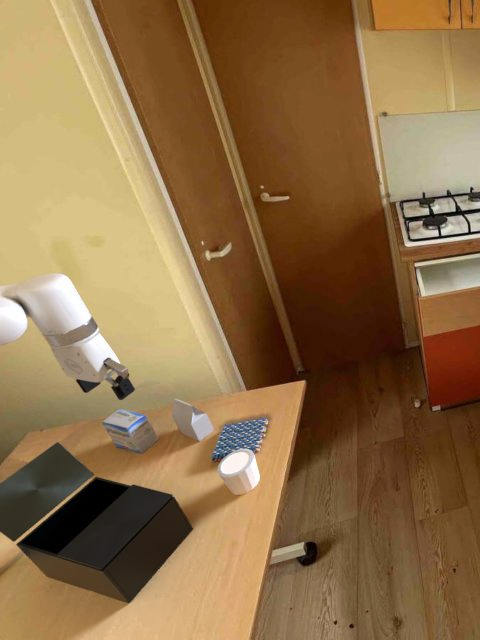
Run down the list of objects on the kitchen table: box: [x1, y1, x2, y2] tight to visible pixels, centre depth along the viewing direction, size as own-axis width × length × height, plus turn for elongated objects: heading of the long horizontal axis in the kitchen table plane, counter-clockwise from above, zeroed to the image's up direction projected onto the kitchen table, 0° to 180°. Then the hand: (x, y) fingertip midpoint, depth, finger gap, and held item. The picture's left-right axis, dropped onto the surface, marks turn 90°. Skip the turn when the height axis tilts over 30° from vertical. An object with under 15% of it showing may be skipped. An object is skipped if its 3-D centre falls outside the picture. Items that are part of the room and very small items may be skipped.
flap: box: [0, 441, 95, 543], centre depth 75 cm, size 9×13×1 cm
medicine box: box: [101, 408, 160, 455], centre depth 100 cm, size 8×4×9 cm, turn 76°
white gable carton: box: [171, 397, 215, 442], centre depth 102 cm, size 4×7×10 cm, turn 69°
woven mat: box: [210, 416, 269, 463], centre depth 102 cm, size 10×11×2 cm
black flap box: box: [15, 476, 194, 604], centre depth 78 cm, size 19×13×11 cm
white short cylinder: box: [216, 449, 261, 496], centre depth 91 cm, size 7×7×7 cm
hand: (110, 391), depth 94 cm, fingers open, 9 cm apart
